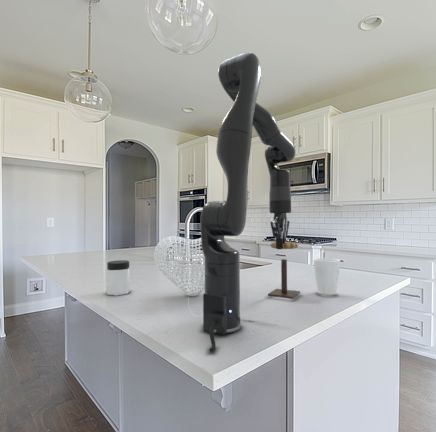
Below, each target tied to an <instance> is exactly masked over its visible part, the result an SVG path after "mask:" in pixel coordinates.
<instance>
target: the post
mask: <svg viewBox="0 0 436 432" xmlns="http://www.w3.org/2000/svg"><path fill="white" fill-rule="evenodd" d="M280 260H281V261H280V271H281V272H280V273H281V274H280V275H281V277H280V278H281V280H280V281H281V285H280V287H281V288H276V289H274V290H272V291H270V292H269V293H267V296H269V297H276V298H284V299H291V300H293V299H295V298H296V297H297V296H298V295H300V294H301V291H300V290H292V289H288V260H287V259H286V258H282V259H280Z"/></svg>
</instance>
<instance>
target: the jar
mask: <svg viewBox="0 0 436 432" xmlns="http://www.w3.org/2000/svg"><path fill="white" fill-rule="evenodd" d="M105 273H106V295H108V296H116V297H117V296H121V295H123V296H124V295H128V294H129V293H130V291H131V267H130V261H129V260H124V259H123V260H121V259H120V260H118V259H117V260H111V261H107V263H106V272H105Z"/></svg>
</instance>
